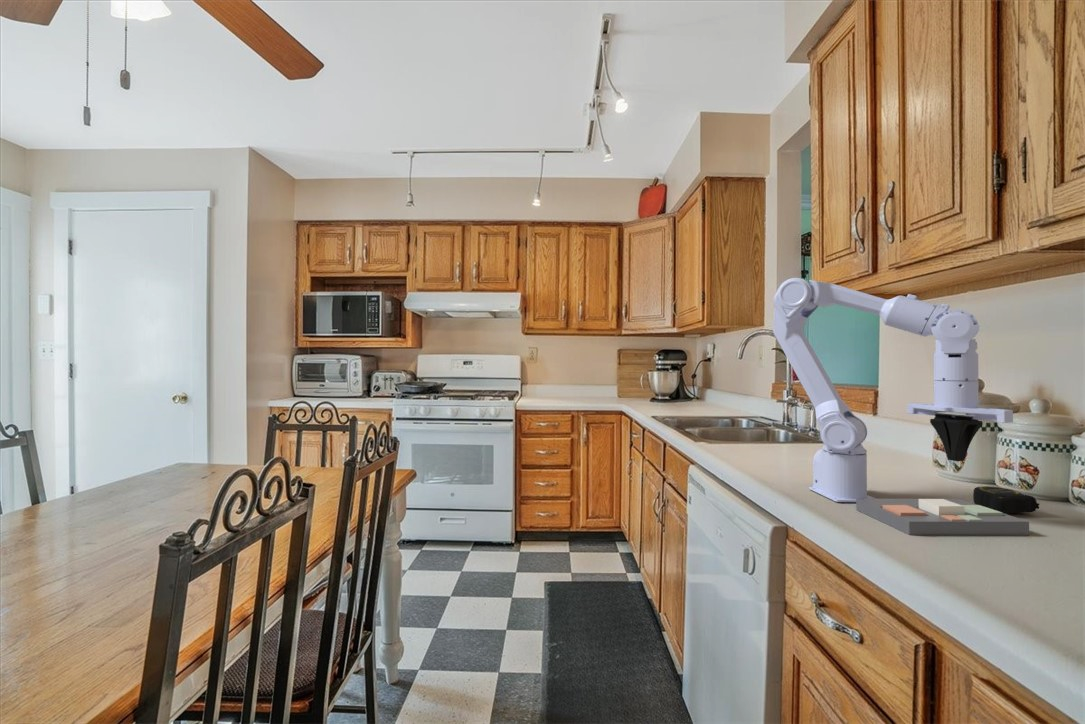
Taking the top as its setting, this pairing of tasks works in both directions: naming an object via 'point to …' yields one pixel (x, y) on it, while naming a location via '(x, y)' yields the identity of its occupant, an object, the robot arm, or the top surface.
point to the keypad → (942, 520)
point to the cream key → (941, 507)
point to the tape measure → (1004, 500)
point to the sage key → (981, 510)
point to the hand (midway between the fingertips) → (956, 460)
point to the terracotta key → (904, 510)
